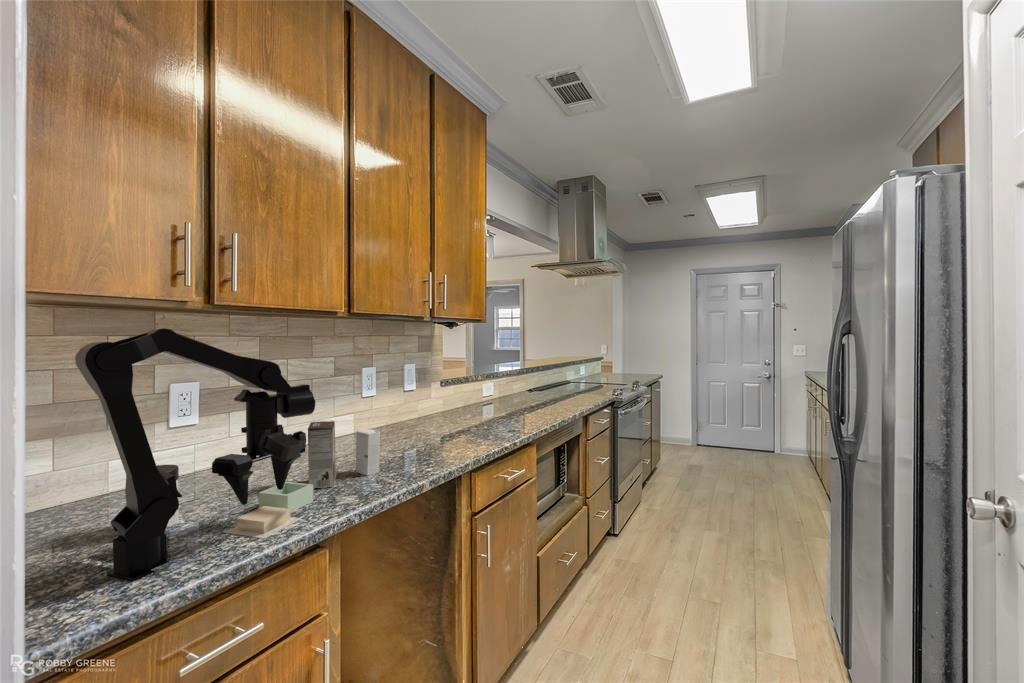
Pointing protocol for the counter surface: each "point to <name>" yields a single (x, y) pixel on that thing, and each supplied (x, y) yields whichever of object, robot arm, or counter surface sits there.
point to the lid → (263, 519)
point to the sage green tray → (287, 496)
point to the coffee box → (321, 454)
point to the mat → (245, 533)
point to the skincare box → (367, 451)
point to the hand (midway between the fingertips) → (263, 496)
